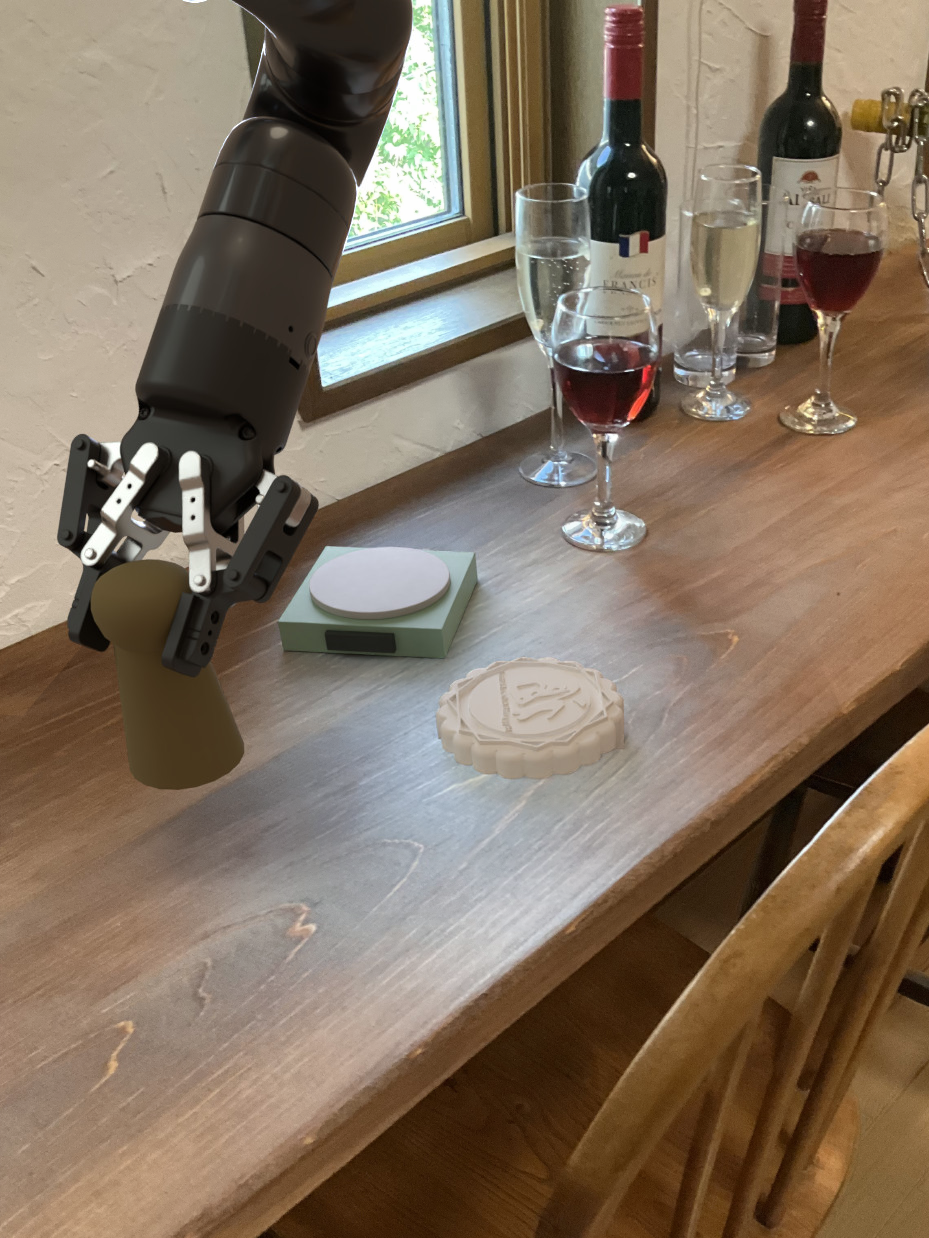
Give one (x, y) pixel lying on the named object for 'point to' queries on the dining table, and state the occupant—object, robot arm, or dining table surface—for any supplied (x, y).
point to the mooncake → (531, 718)
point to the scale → (380, 602)
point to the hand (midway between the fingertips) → (132, 657)
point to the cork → (162, 682)
